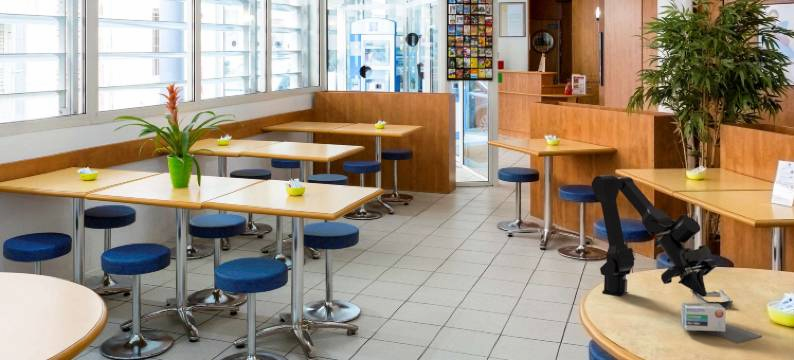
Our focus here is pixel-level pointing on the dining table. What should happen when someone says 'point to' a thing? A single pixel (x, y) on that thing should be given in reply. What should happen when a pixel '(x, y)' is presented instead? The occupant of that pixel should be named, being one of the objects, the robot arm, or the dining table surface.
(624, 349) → the dining table surface
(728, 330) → the rubber mat
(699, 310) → the light bulb box
